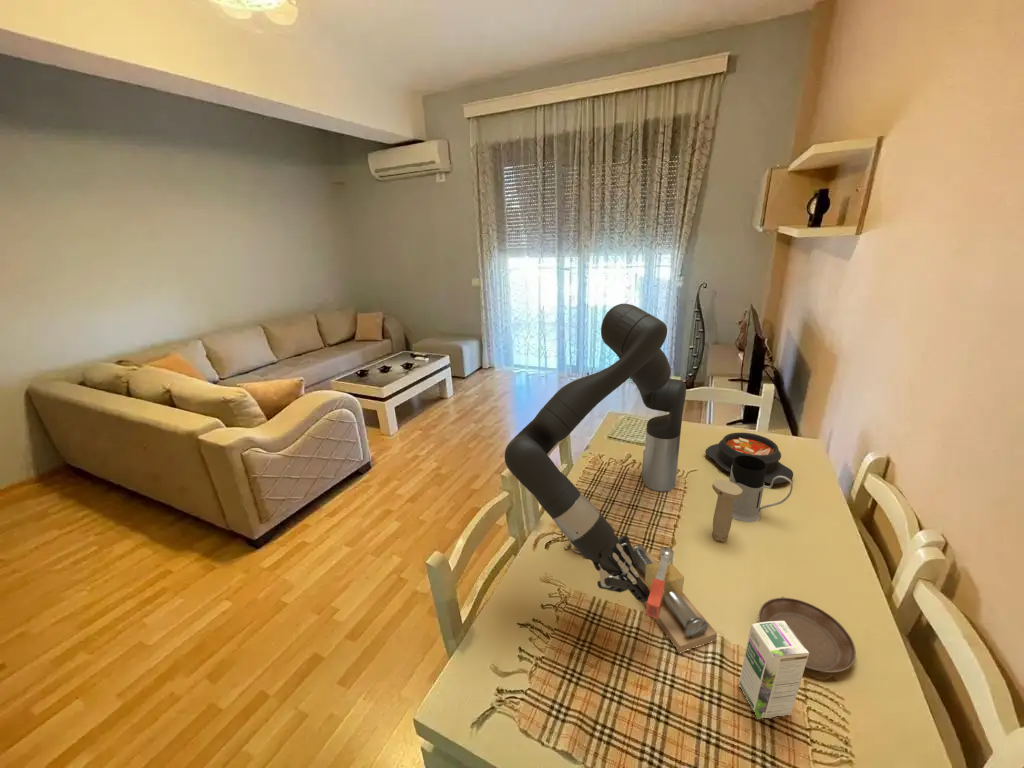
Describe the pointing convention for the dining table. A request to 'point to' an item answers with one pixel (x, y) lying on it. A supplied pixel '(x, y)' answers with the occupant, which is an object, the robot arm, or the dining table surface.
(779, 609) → the saucer
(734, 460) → the glass holder
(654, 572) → the brass ball valve
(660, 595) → the valve lever
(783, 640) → the syrup box
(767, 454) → the casserole
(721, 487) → the handle
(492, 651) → the dining table surface
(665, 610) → the oak base board
